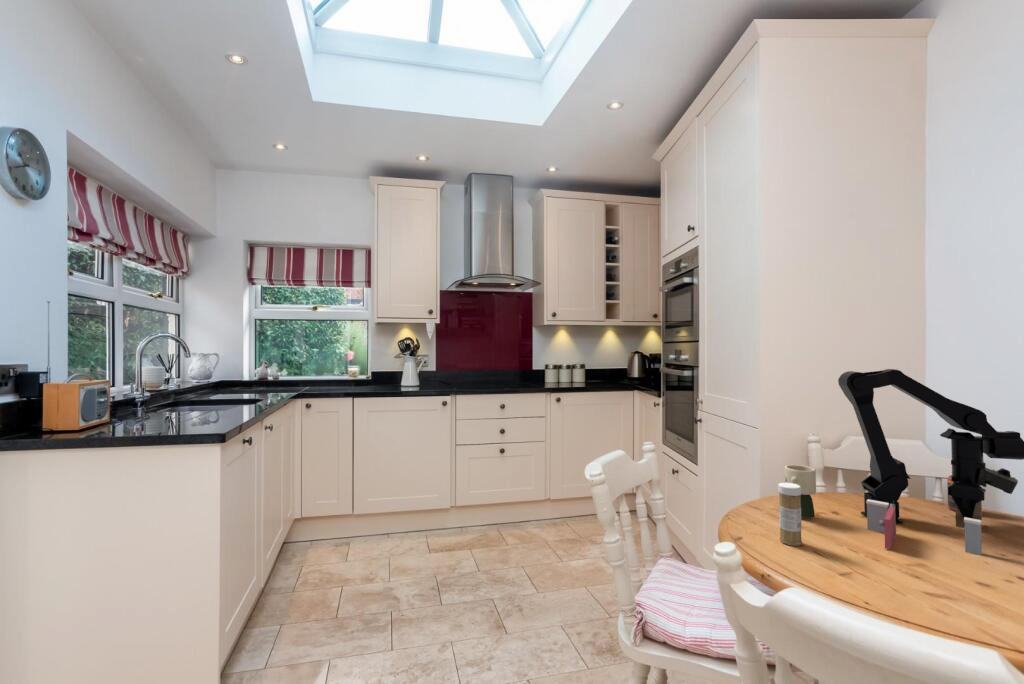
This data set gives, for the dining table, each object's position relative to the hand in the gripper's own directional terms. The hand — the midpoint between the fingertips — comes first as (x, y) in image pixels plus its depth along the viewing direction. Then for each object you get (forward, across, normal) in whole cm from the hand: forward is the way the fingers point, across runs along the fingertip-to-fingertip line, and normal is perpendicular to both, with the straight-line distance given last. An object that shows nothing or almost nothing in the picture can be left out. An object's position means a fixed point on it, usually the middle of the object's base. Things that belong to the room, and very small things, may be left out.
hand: (968, 519), depth 116 cm
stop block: (+2, 0, 0) cm, 2 cm away
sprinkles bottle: (+2, -43, +28) cm, 51 cm away
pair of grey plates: (+2, -20, +7) cm, 21 cm away
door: (+1, -26, +12) cm, 29 cm away
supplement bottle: (+2, +14, +2) cm, 15 cm away
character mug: (+2, -22, +31) cm, 38 cm away
